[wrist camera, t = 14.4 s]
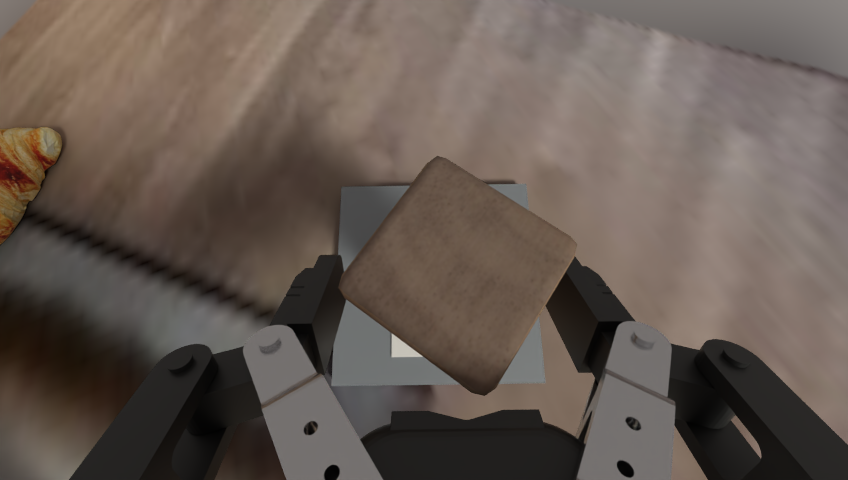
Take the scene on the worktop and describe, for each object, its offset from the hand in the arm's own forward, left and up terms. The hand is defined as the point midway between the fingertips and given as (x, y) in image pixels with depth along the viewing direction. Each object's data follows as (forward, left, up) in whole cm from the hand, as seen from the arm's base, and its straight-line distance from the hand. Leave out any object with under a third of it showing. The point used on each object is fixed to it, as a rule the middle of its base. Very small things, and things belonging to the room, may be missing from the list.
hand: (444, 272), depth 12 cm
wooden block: (+1, +1, -13) cm, 13 cm away
